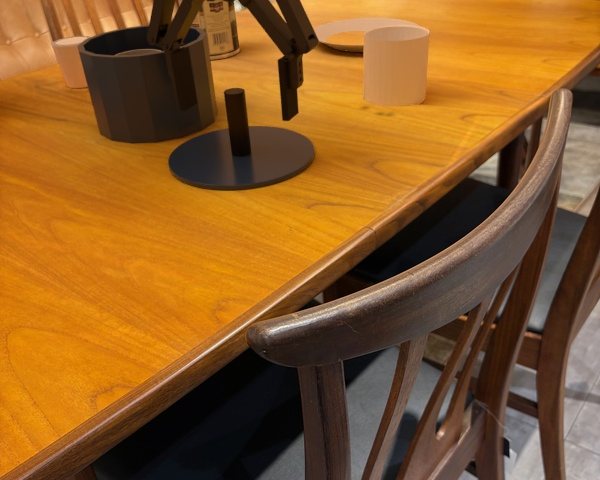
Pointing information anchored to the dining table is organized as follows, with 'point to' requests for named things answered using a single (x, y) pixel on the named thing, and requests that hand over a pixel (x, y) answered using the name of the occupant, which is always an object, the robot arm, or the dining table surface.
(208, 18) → the coffee can
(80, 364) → the dining table surface
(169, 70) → the robot arm
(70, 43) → the shot glass
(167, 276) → the dining table surface
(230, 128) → the lid
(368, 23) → the plate
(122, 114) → the pot
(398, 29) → the mug
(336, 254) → the dining table surface
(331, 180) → the dining table surface
